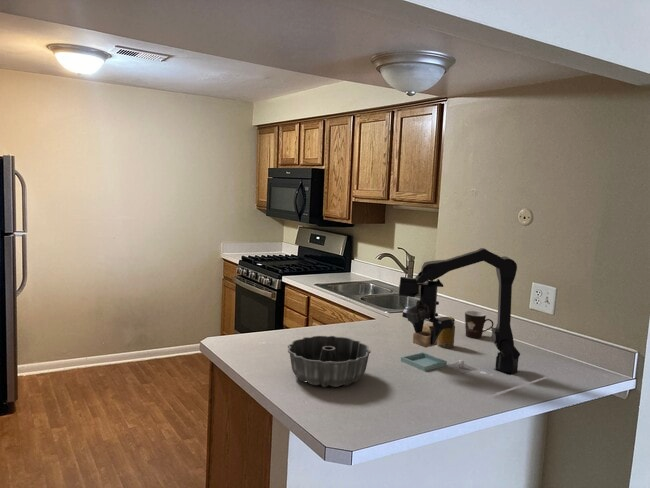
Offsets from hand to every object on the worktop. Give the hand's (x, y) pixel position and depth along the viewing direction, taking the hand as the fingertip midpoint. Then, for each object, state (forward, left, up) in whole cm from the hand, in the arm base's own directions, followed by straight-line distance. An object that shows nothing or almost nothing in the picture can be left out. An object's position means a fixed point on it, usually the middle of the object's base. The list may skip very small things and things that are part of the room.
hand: (425, 342), depth 182 cm
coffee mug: (+13, -45, -9) cm, 48 cm away
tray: (0, 0, -8) cm, 8 cm away
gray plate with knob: (-9, -8, -8) cm, 15 cm away
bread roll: (+23, -30, -9) cm, 38 cm away
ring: (0, 0, -1) cm, 1 cm away
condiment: (+9, -22, -9) cm, 25 cm away
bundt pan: (+8, +37, -9) cm, 38 cm away
